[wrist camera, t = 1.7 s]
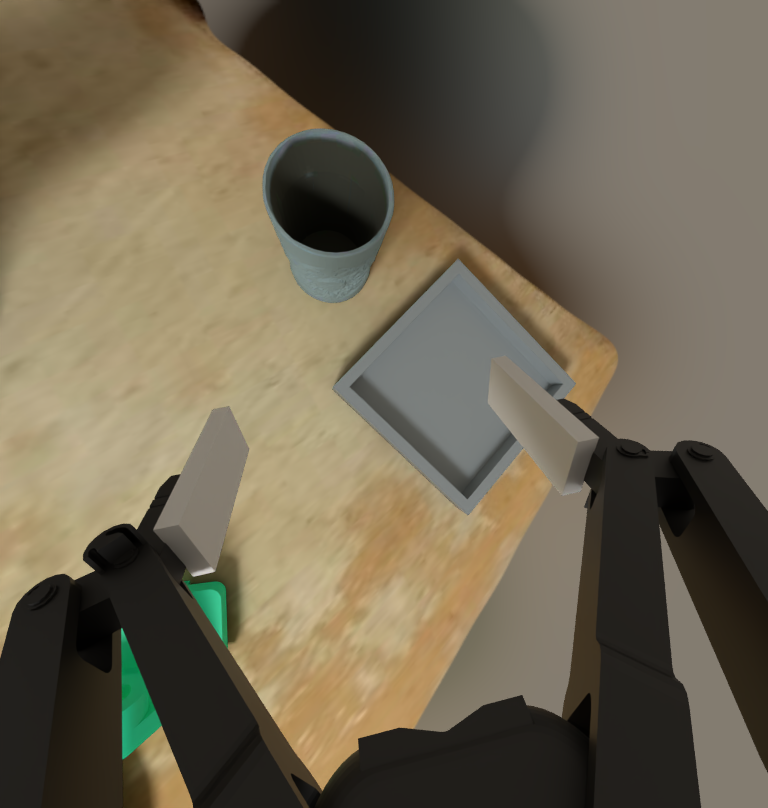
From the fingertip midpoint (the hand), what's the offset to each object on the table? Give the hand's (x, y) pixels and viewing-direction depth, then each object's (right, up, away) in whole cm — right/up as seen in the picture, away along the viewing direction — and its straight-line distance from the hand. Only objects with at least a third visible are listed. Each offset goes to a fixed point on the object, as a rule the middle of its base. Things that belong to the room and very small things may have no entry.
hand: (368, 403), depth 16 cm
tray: (+9, +2, +22) cm, 24 cm away
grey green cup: (-5, +16, +20) cm, 26 cm away
